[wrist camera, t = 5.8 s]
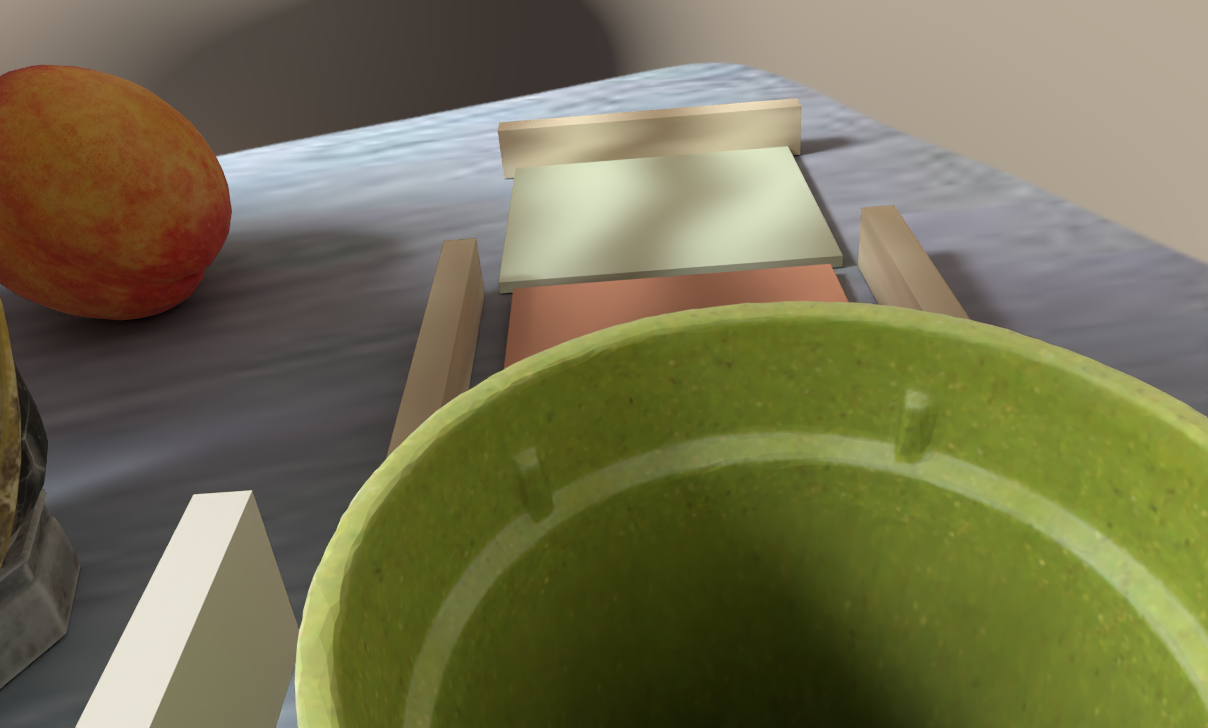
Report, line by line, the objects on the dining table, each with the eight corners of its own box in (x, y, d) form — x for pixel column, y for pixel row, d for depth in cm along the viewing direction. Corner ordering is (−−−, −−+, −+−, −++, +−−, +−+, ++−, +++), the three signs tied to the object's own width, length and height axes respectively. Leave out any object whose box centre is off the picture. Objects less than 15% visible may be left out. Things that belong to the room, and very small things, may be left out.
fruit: (182, 233, 39) (112, 20, 35) (302, 287, 34) (238, 48, 30) (-31, 317, 34) (-142, 82, 30) (74, 394, 29) (-40, 128, 25)
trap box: (359, 721, 19) (336, 646, 18) (482, 171, 42) (475, 124, 41) (1126, 669, 18) (1150, 589, 17) (819, 144, 42) (821, 96, 41)
